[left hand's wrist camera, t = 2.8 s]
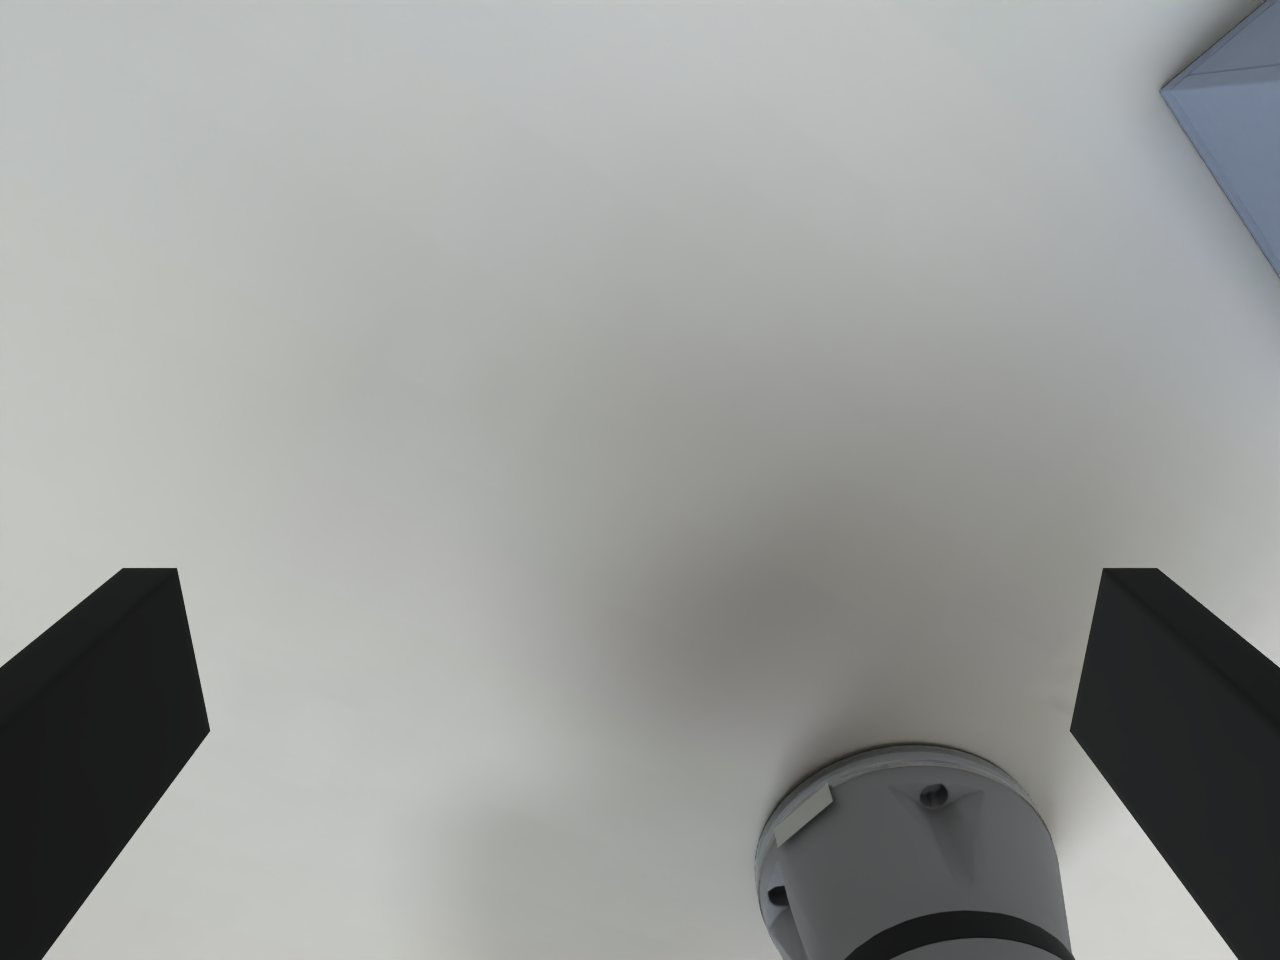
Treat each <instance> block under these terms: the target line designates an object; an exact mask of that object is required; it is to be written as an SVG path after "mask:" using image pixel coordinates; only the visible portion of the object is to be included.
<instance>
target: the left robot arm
mask: <svg viewBox="0 0 1280 960" xmlns="http://www.w3.org/2000/svg"><path fill="white" fill-rule="evenodd" d="M209 732H210V728H209V723H208V718H207V713H206V708H205V703H204V698H203V693H202V688H201V684H200V679H199V674H198V669H197V664H196V659H195V654H194V649H193V644H192V639H191V635H190V630H189V625H188V620H187V615H186V610H185V605H184V600H183V595H182V591H181V586H180V581H179V576H178V571H177V568H122V569H121V570H120V571H119V572H118V573H116V574H115V575H114V576H113V577H111V578H110V579H109V580H108V581H106V582H105V583H104V584H103V585H102V586H100V587H99V588H98V589H97V590H95V591H94V592H93V593H92V594H90V595H89V596H88V597H87V598H86V599H84V600H83V601H82V602H81V603H79V604H78V605H77V606H76V607H74V608H73V609H72V610H71V611H70V612H68V613H67V614H66V615H65V616H63V617H62V618H61V619H60V620H58V621H57V622H56V623H55V624H54V625H52V626H51V627H50V628H49V629H47V630H46V631H45V632H44V633H42V634H41V635H40V636H39V637H38V638H36V639H35V640H34V641H33V642H31V643H30V644H29V645H28V646H26V647H25V648H24V649H23V650H22V651H20V652H19V653H18V654H17V655H15V656H14V657H13V658H12V659H10V660H9V661H8V662H7V663H6V664H4V665H3V666H2V667H1V668H0V960H42V958H43V957H44V956H45V954H46V953H47V952H48V950H49V949H50V947H51V946H52V945H53V943H54V942H55V941H56V939H57V938H58V937H59V935H60V934H61V933H62V931H63V930H64V928H65V927H66V926H67V924H68V923H69V922H70V920H71V919H72V918H73V916H74V915H75V914H76V912H77V911H78V909H79V908H80V907H81V905H82V904H83V903H84V901H85V900H86V899H87V897H88V896H89V895H90V893H91V892H92V890H93V889H94V888H95V886H96V885H97V884H98V882H99V881H100V880H101V878H102V877H103V876H104V874H105V873H106V872H107V870H108V869H109V867H110V866H111V865H112V863H113V862H114V861H115V859H116V858H117V857H118V855H119V854H120V853H121V851H122V850H123V848H124V847H125V846H126V844H127V843H128V842H129V840H130V839H131V838H132V836H133V835H134V834H135V832H136V831H137V829H138V828H139V827H140V825H141V824H142V823H143V821H144V820H145V819H146V817H147V816H148V815H149V813H150V812H151V810H152V809H153V808H154V806H155V805H156V804H157V802H158V801H159V800H160V798H161V797H162V796H163V794H164V793H165V791H166V790H167V789H168V787H169V786H170V785H171V783H172V782H173V781H174V779H175V778H176V777H177V775H178V774H179V772H180V771H181V770H182V768H183V767H184V766H185V764H186V763H187V762H188V760H189V759H190V758H191V756H192V755H193V754H194V752H195V751H196V749H197V748H198V747H199V745H200V744H201V743H202V741H203V740H204V739H205V737H206V736H207V735H208V733H209ZM1070 732H1071V733H1072V735H1073V736H1074V737H1075V739H1076V740H1077V741H1078V743H1079V744H1080V745H1081V747H1082V748H1083V749H1084V751H1085V752H1086V753H1087V755H1088V756H1089V758H1090V759H1091V760H1092V762H1093V763H1094V764H1095V766H1096V767H1097V768H1098V770H1099V771H1100V772H1101V774H1102V775H1103V777H1104V778H1105V779H1106V781H1107V782H1108V783H1109V785H1110V786H1111V787H1112V789H1113V790H1114V791H1115V793H1116V794H1117V796H1118V797H1119V798H1120V800H1121V801H1122V802H1123V804H1124V805H1125V806H1126V808H1127V809H1128V810H1129V812H1130V813H1131V815H1132V816H1133V817H1134V819H1135V820H1136V821H1137V823H1138V824H1139V825H1140V827H1141V828H1142V829H1143V831H1144V832H1145V834H1146V835H1147V836H1148V838H1149V839H1150V840H1151V842H1152V843H1153V844H1154V846H1155V847H1156V848H1157V850H1158V851H1159V853H1160V854H1161V855H1162V857H1163V858H1164V859H1165V861H1166V862H1167V863H1168V865H1169V866H1170V867H1171V869H1172V870H1173V871H1174V873H1175V874H1176V876H1177V877H1178V878H1179V880H1180V881H1181V882H1182V884H1183V885H1184V886H1185V888H1186V889H1187V890H1188V892H1189V893H1190V895H1191V896H1192V897H1193V899H1194V900H1195V901H1196V903H1197V904H1198V905H1199V907H1200V908H1201V909H1202V911H1203V912H1204V914H1205V915H1206V916H1207V918H1208V919H1209V920H1210V922H1211V923H1212V924H1213V926H1214V927H1215V928H1216V930H1217V931H1218V933H1219V934H1220V935H1221V937H1222V938H1223V939H1224V941H1225V942H1226V943H1227V945H1228V946H1229V947H1230V949H1231V950H1232V952H1233V953H1234V954H1235V956H1236V957H1237V958H1238V960H1280V668H1279V667H1278V666H1277V665H1276V664H1274V663H1273V662H1272V661H1271V660H1270V659H1268V658H1267V657H1266V656H1265V655H1263V654H1262V653H1261V652H1260V651H1258V650H1257V649H1256V648H1255V647H1254V646H1252V645H1251V644H1250V643H1249V642H1247V641H1246V640H1245V639H1244V638H1242V637H1241V636H1240V635H1239V634H1238V633H1236V632H1235V631H1234V630H1233V629H1231V628H1230V627H1229V626H1228V625H1226V624H1225V623H1224V622H1223V621H1222V620H1220V619H1219V618H1218V617H1217V616H1215V615H1214V614H1213V613H1212V612H1210V611H1209V610H1208V609H1207V608H1206V607H1204V606H1203V605H1202V604H1201V603H1199V602H1198V601H1197V600H1196V599H1194V598H1193V597H1192V596H1191V595H1190V594H1188V593H1187V592H1186V591H1185V590H1183V589H1182V588H1181V587H1180V586H1178V585H1177V584H1176V583H1175V582H1174V581H1172V580H1171V579H1170V578H1169V577H1167V576H1166V575H1165V574H1164V573H1162V572H1161V571H1160V570H1159V569H1158V568H1103V571H1102V576H1101V581H1100V586H1099V591H1098V595H1097V600H1096V605H1095V610H1094V615H1093V620H1092V625H1091V630H1090V635H1089V639H1088V644H1087V649H1086V654H1085V659H1084V664H1083V669H1082V674H1081V679H1080V684H1079V688H1078V693H1077V698H1076V703H1075V708H1074V713H1073V718H1072V723H1071V728H1070ZM755 879H756V886H757V892H758V899H759V904H760V910H761V914H762V917H763V920H764V923H765V925H766V927H767V929H768V932H769V935H770V937H771V939H772V941H773V943H774V944H775V946H776V948H777V950H778V951H779V953H780V955H781V956H782V958H783V960H1075V958H1074V956H1073V954H1072V952H1071V945H1070V938H1069V931H1068V925H1067V918H1066V911H1065V904H1064V897H1063V891H1062V884H1061V877H1060V870H1059V863H1058V859H1057V855H1056V852H1055V848H1054V845H1053V842H1052V838H1051V835H1050V833H1049V831H1048V829H1047V827H1046V825H1045V823H1044V821H1043V820H1042V818H1041V816H1040V814H1039V813H1038V811H1037V809H1036V808H1035V806H1034V804H1033V803H1032V801H1031V800H1030V798H1029V796H1028V795H1027V794H1026V792H1025V791H1024V790H1023V789H1022V788H1021V786H1020V785H1019V784H1018V783H1017V782H1016V781H1015V780H1014V779H1013V778H1011V777H1010V776H1009V775H1008V774H1006V773H1005V772H1004V771H1002V770H1001V769H999V768H998V767H996V766H994V765H993V764H991V763H989V762H987V761H985V760H983V759H981V758H979V757H976V756H973V755H971V754H968V753H965V752H961V751H957V750H954V749H949V748H943V747H937V746H925V745H904V746H892V747H886V748H879V749H875V750H870V751H866V752H862V753H859V754H856V755H853V756H850V757H847V758H845V759H842V760H840V761H838V762H835V763H833V764H831V765H829V766H827V767H826V768H824V769H822V770H820V771H819V772H817V773H815V774H814V775H812V776H811V777H809V778H808V779H806V780H805V781H804V782H802V783H801V784H800V785H799V786H797V787H796V788H795V789H794V790H793V791H792V792H791V793H790V794H789V795H788V796H787V797H786V798H785V799H784V800H783V801H782V802H781V803H780V805H779V806H778V807H777V809H776V810H775V811H774V813H773V814H772V816H771V817H770V819H769V821H768V822H767V824H766V826H765V828H764V831H763V833H762V835H761V838H760V841H759V844H758V847H757V853H756V858H755Z"/></svg>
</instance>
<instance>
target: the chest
mask: <svg viewBox="0 0 1280 960" xmlns="http://www.w3.org/2000/svg"><path fill="white" fill-rule="evenodd" d="M1160 93H1161V95H1162V97H1163V98H1164V100H1165V101H1166V103H1167V104H1168V106H1169V107H1170V109H1171V110H1172V112H1173V114H1174V115H1175V117H1176V118H1177V120H1178V121H1179V123H1180V124H1181V126H1182V127H1183V129H1184V131H1185V132H1186V134H1187V135H1188V137H1189V138H1190V140H1191V141H1192V143H1193V144H1194V146H1195V148H1196V149H1197V151H1198V152H1199V154H1200V155H1201V157H1202V158H1203V160H1204V161H1205V163H1206V165H1207V166H1208V168H1209V169H1210V171H1211V172H1212V174H1213V175H1214V177H1215V178H1216V180H1217V182H1218V183H1219V185H1220V186H1221V188H1222V189H1223V191H1224V192H1225V194H1226V195H1227V197H1228V199H1229V200H1230V202H1231V203H1232V205H1233V206H1234V208H1235V209H1236V211H1237V212H1238V214H1239V215H1240V217H1241V219H1242V220H1243V222H1244V223H1245V225H1246V226H1247V228H1248V229H1249V231H1250V232H1251V234H1252V236H1253V237H1254V239H1255V240H1256V242H1257V243H1258V245H1259V246H1260V248H1261V249H1262V251H1263V253H1264V254H1265V256H1266V257H1267V259H1268V260H1269V262H1270V263H1271V265H1272V266H1273V268H1274V270H1275V271H1276V273H1277V274H1278V276H1279V277H1280V0H1267V1H1266V2H1265V3H1263V4H1262V5H1261V6H1260V7H1259V8H1257V9H1256V10H1255V11H1254V12H1253V13H1251V14H1250V15H1249V16H1248V17H1247V18H1246V19H1244V20H1243V21H1242V22H1241V23H1240V24H1238V25H1237V26H1236V27H1235V28H1234V29H1232V30H1231V31H1230V32H1229V33H1228V34H1226V35H1225V36H1224V37H1223V38H1222V39H1221V40H1219V41H1218V42H1217V43H1216V44H1215V45H1213V46H1212V47H1211V48H1210V49H1209V50H1207V51H1206V52H1205V53H1204V54H1203V55H1201V56H1200V57H1199V58H1198V59H1197V60H1196V61H1194V62H1193V63H1192V64H1191V65H1190V66H1188V67H1187V68H1186V69H1185V70H1184V71H1182V72H1181V73H1180V74H1179V75H1178V76H1176V77H1175V78H1174V79H1173V80H1172V81H1170V82H1169V83H1168V84H1167V85H1166V86H1165V87H1163V88H1162V89H1161V90H1160Z"/></svg>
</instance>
